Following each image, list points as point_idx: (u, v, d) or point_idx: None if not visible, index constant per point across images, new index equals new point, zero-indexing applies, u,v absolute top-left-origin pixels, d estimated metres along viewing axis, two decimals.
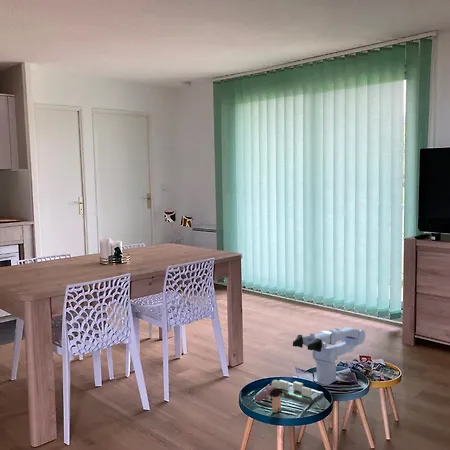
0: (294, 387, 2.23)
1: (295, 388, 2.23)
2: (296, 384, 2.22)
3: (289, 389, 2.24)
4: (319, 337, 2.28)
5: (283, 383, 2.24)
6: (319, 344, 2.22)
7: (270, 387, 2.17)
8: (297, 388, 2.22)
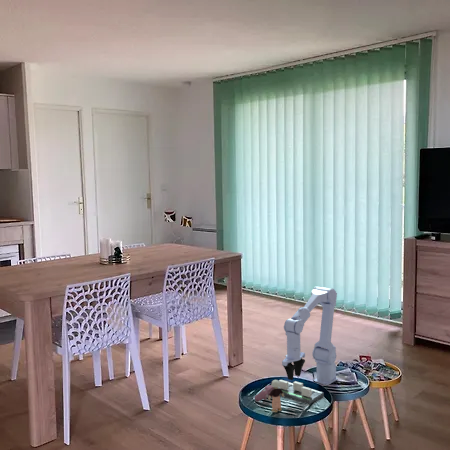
0: (294, 387, 2.23)
1: (295, 388, 2.23)
2: (296, 384, 2.22)
3: (289, 389, 2.24)
4: (287, 350, 2.19)
5: (283, 383, 2.24)
6: None
7: (269, 387, 2.17)
8: (297, 388, 2.22)
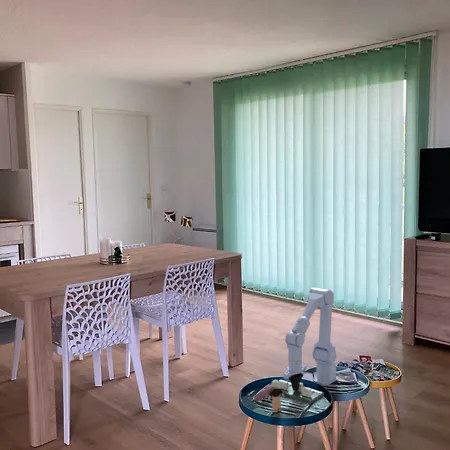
0: None
1: None
2: None
3: (289, 389, 2.24)
4: None
5: (283, 383, 2.24)
6: None
7: (269, 387, 2.18)
8: None
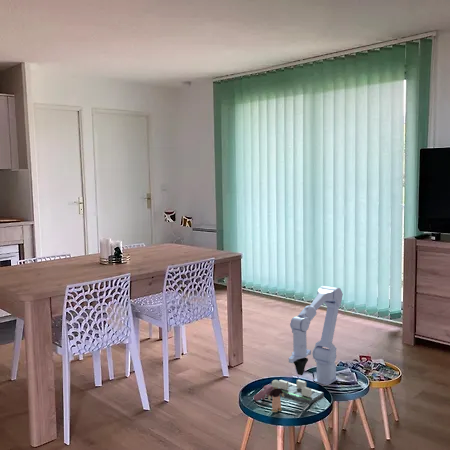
0: (297, 385, 2.25)
1: (298, 386, 2.24)
2: (299, 382, 2.24)
3: (289, 389, 2.24)
4: (293, 348, 2.22)
5: (283, 383, 2.24)
6: None
7: (268, 387, 2.18)
8: (300, 386, 2.24)
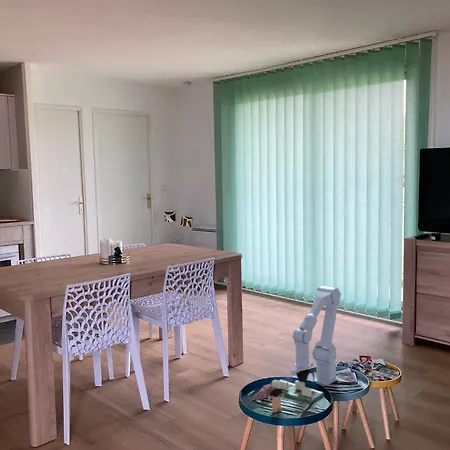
0: (296, 386, 2.24)
1: (297, 387, 2.23)
2: (298, 383, 2.23)
3: (289, 389, 2.24)
4: None
5: (283, 383, 2.24)
6: None
7: (267, 386, 2.18)
8: (299, 387, 2.23)
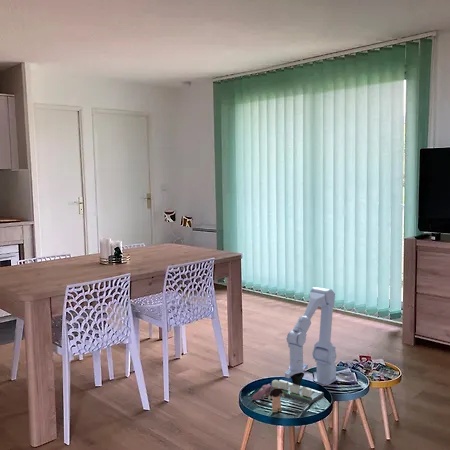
0: (290, 389, 2.21)
1: (291, 390, 2.20)
2: (292, 386, 2.20)
3: (289, 389, 2.24)
4: None
5: (283, 383, 2.24)
6: None
7: (266, 386, 2.18)
8: (293, 390, 2.20)
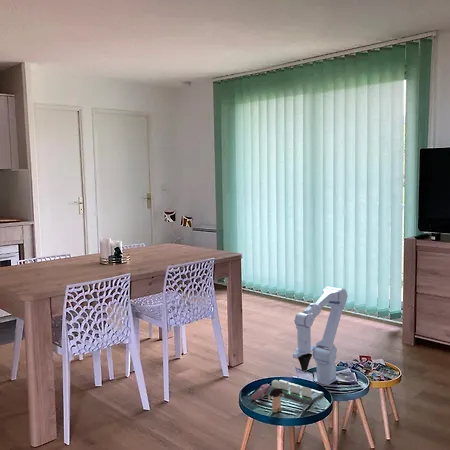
0: (291, 389, 2.21)
1: (292, 390, 2.21)
2: (293, 386, 2.20)
3: (289, 389, 2.24)
4: None
5: (283, 383, 2.24)
6: None
7: (265, 386, 2.18)
8: (294, 390, 2.20)
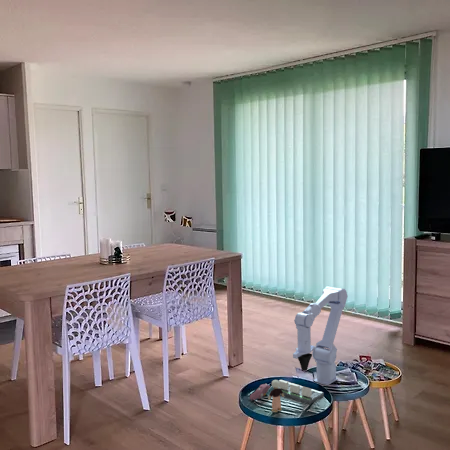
0: (291, 389, 2.21)
1: (292, 390, 2.21)
2: (293, 386, 2.20)
3: (289, 389, 2.24)
4: None
5: (283, 383, 2.24)
6: None
7: (264, 386, 2.19)
8: (294, 390, 2.20)
